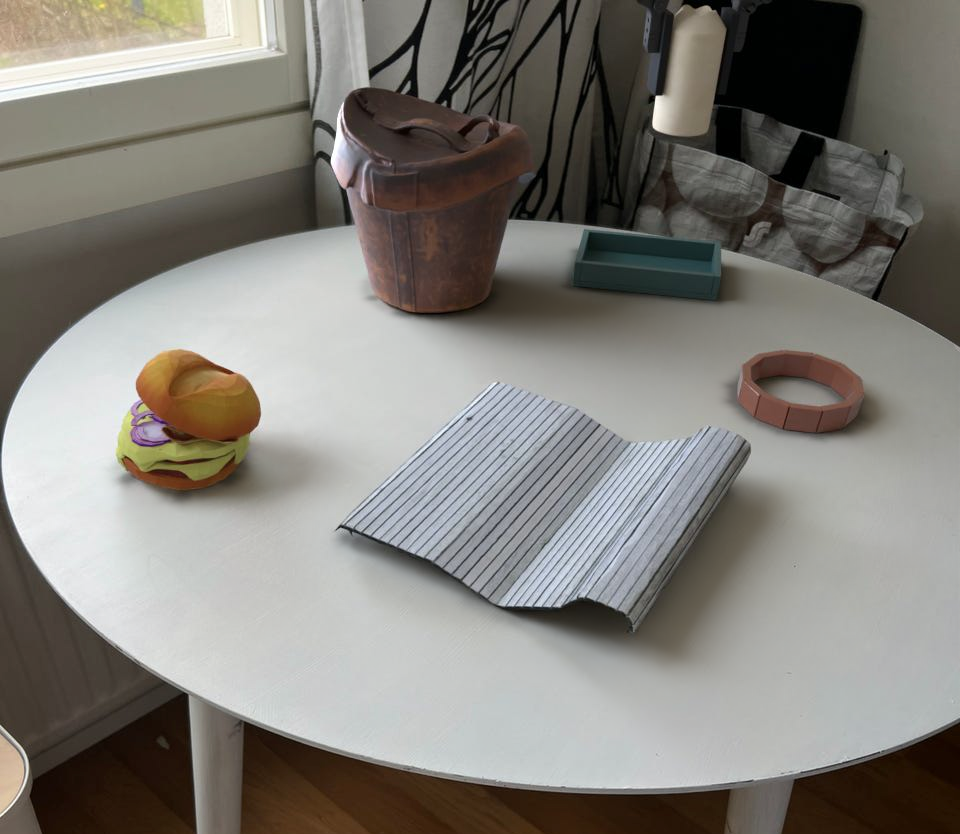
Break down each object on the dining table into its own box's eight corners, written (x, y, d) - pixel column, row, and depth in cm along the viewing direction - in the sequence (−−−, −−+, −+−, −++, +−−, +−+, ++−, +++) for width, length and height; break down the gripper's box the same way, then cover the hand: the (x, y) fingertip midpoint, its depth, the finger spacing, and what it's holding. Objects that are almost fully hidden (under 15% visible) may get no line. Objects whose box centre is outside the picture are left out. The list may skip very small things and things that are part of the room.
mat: (487, 405, 84) (489, 356, 81) (741, 488, 77) (755, 437, 73) (332, 544, 70) (327, 492, 67) (627, 664, 62) (637, 611, 59)
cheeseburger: (122, 431, 80) (125, 319, 73) (252, 449, 83) (265, 343, 77) (109, 500, 72) (111, 383, 66) (251, 517, 76) (267, 406, 69)
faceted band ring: (850, 378, 90) (857, 357, 88) (861, 438, 82) (869, 416, 81) (736, 366, 91) (741, 344, 89) (737, 424, 83) (743, 401, 82)
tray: (716, 265, 108) (721, 241, 106) (716, 300, 101) (721, 276, 99) (581, 251, 109) (583, 228, 107) (572, 285, 103) (574, 262, 101)
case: (548, 319, 97) (563, 127, 84) (352, 335, 93) (338, 137, 81) (504, 249, 109) (512, 72, 97) (330, 261, 106) (315, 79, 93)
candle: (640, 128, 92) (656, 7, 85) (670, 116, 96) (688, -2, 89) (689, 141, 90) (710, 17, 83) (718, 128, 93) (741, 8, 86)
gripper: (828, -239, 78) (762, 78, 94) (611, -246, 76) (581, 81, 92) (870, -235, 73) (792, 100, 89) (638, -242, 70) (602, 104, 87)
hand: (685, 90), depth 90 cm, fingers closed on candle, 5 cm apart
